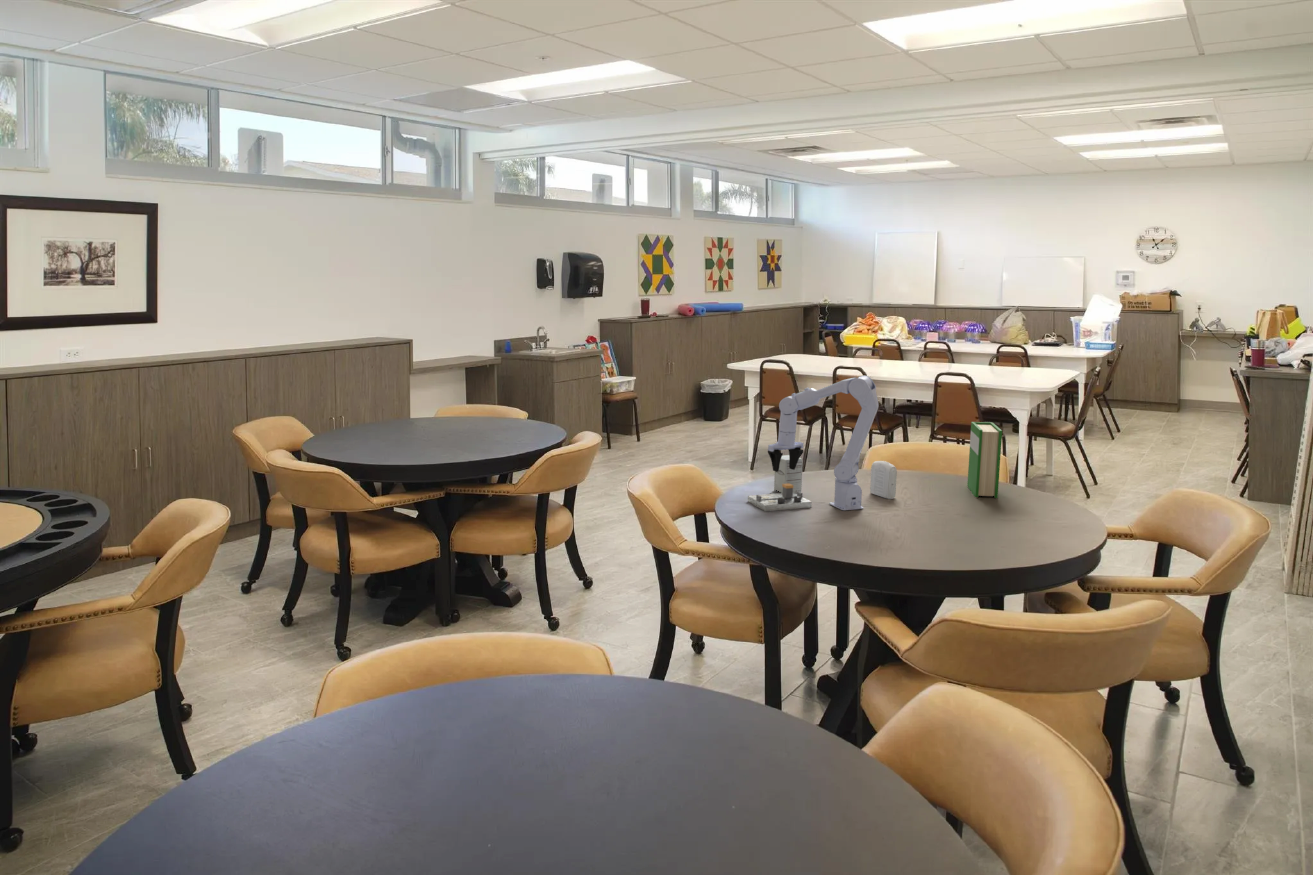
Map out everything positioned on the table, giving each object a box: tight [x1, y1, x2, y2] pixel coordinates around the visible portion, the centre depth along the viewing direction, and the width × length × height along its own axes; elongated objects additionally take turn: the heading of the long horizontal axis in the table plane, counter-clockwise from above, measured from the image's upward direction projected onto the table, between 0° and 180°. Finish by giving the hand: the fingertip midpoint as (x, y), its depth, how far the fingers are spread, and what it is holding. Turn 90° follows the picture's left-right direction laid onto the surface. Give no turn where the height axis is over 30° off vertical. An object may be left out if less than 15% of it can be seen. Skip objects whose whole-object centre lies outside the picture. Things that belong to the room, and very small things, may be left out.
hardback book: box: [966, 421, 1003, 499], centre depth 332 cm, size 18×7×24 cm, turn 171°
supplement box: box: [773, 454, 804, 494], centre depth 333 cm, size 7×7×13 cm
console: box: [747, 491, 813, 512], centre depth 316 cm, size 14×17×4 cm
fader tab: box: [782, 483, 793, 498], centre depth 316 cm, size 3×3×4 cm
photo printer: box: [869, 460, 898, 500], centre depth 327 cm, size 10×4×12 cm, turn 28°
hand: (783, 470), depth 321 cm, fingers open, 7 cm apart
